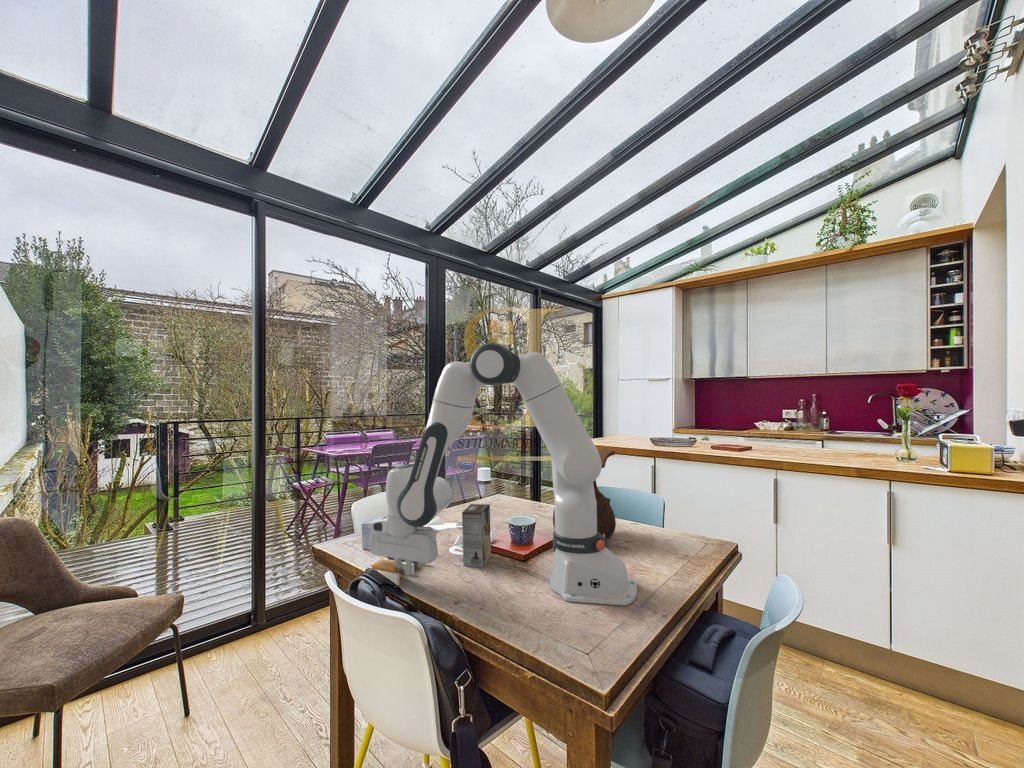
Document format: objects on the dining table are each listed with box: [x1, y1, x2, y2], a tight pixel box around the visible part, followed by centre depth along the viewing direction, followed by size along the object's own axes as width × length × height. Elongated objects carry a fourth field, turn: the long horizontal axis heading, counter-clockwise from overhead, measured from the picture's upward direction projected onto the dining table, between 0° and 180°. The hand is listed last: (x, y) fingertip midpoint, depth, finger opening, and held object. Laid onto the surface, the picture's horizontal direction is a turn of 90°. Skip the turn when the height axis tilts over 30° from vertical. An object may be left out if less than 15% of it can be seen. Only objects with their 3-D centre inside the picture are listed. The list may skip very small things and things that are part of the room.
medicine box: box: [361, 516, 384, 551], centre depth 147 cm, size 8×4×9 cm, turn 161°
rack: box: [364, 557, 429, 586], centre depth 126 cm, size 10×15×3 cm
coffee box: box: [461, 503, 492, 568], centre depth 134 cm, size 9×6×16 cm
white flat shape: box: [424, 516, 494, 556], centre depth 157 cm, size 35×24×3 cm
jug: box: [552, 447, 617, 542], centre depth 150 cm, size 22×22×30 cm
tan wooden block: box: [371, 558, 403, 579], centre depth 123 cm, size 7×4×4 cm, turn 70°
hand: (403, 574), depth 121 cm, fingers closed
